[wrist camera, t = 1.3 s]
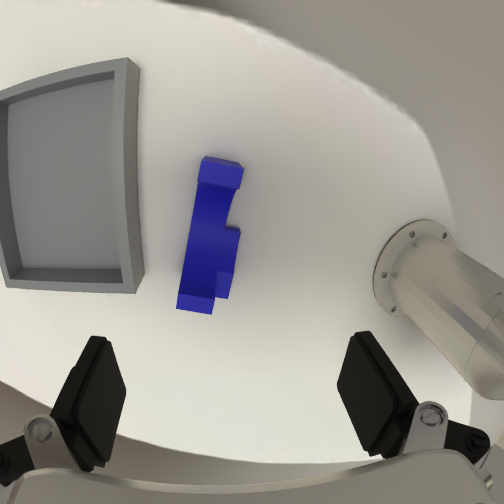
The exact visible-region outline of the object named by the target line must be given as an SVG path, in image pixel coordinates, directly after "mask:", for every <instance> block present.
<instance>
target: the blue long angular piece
mask: <svg viewBox="0 0 504 504" xmlns="http://www.w3.org/2000/svg"><path fill="white" fill-rule="evenodd" d="M243 171H244V168H243V167H242V166H241V165H240V164H239V163H237V162H232V161H228V160H223V159H218V158H213V157H208V156H205V157H204V158H203V159H202V161H201V166H200V170H199V175H198V180H197V181H198V186H197V193H196V199H195V204H194V210H193V216H192V221H191V227H190V232H189V238H188V243H187V249H186V254H185V260H184V265H183V271H182V276H181V281H180V287H179V292H178V298H177V306H176V309H181V310H187V311H193V312H199V313H205V314H211V315H212V311H213V306H214V301H215V297H218V298H224V299H228V296H229V292H230V287H231V283H232V279H233V274H234V267H235V260H236V253H237V248H238V243H239V238H240V234H241V233H240V229H238V228H233V227H228V226H225V224H226V220H227V216H228V212H229V209H230V205H231V202H232V199H233V196H234V194H235V192H236V190H237V189H239V188H240V184H241V179H242V175H243Z"/></svg>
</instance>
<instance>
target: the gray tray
mask: <svg viewBox="0 0 504 504" xmlns="http://www.w3.org/2000/svg"><path fill="white" fill-rule="evenodd" d="M139 76H140V68H139V67H138V66H137V65H136V64H135V63H134V62H132V61H131V60H130V59H129V58H128V57H127V58H120V59H114V60H108V61H102V62H97V63H92V64H87V65H83V66H78V67H74V68H70V69H66V70H62V71H58V72H55V73H51V74H48V75H44V76H41V77H38V78H35V79H32V80H29V81H26V82H23V83H20V84H17V85H15V86H12V87H9V88H7V89H4V90H2V91H0V266H1V270H2V274H3V278H4V281H5V285H6V287H7V288H20V289H35V290H51V291H70V292H93V293H124V294H136V291H137V289H138V287H139V285H140V283H141V281H142V278H143V276H144V265H143V256H142V246H141V235H140V222H139V206H138V185H137V111H138V90H139Z"/></svg>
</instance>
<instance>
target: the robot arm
mask: <svg viewBox="0 0 504 504" xmlns="http://www.w3.org/2000/svg"><path fill="white" fill-rule="evenodd" d="M374 293H375V296H376V299H377V301H378V302H379V304H380V306H381V307H382V308H383V309H384V310H385V311H386V312H387V313H389V314H390V315H393V316H396V317H409V318H410V319H411V320H412V321H413V322H414V323H415V324H416V325H417V326H418V327H419V329H420V330H421V331H422V332H423V333H424V334H425V335H426V336H427V337H428V338H429V340H430V341H431V342H432V343H433V344H434V345H435V346H436V347H437V348H438V350H439V351H440V352H441V353H442V354H443V355H444V356H445V358H446V359H447V360H448V361H449V362H450V363H451V364H452V366H453V367H454V368H455V369H456V370H457V371H458V373H459V374H460V375H461V376H462V377H463V379H464V380H465V381H466V382H467V383H468V384H469V385H470V387H471V388H472V389H473V390H474V391H475V392H476V393H477V394H479V395H480V396H482V397H484V398H486V399H490V400H504V279H503V278H502V277H500V276H499V275H497V274H496V273H494V272H492V271H491V270H490V269H488V268H487V267H485V266H484V265H482V264H480V263H479V262H477V261H476V260H474V259H472V258H471V257H469V256H467V255H466V254H464V253H463V252H461V251H459V250H458V249H456V248H454V242H453V239H452V237H451V235H450V233H449V232H448V231H447V230H446V229H445V228H444V227H443V226H441V225H440V224H438V223H436V222H433V221H429V220H422V221H416V222H414V223H411V224H409V225H407V226H406V227H404V228H403V229H401V230H400V231H399V232H398V233H397V234H396V235H395V236H394V237H393V238H392V239H391V240H390V242H389V243H388V244H387V245H386V247H385V249H384V250H383V252H382V254H381V256H380V258H379V261H378V263H377V266H376V270H375V274H374ZM337 389H338V392H339V394H340V396H341V399H342V401H343V403H344V405H345V408H346V410H347V412H348V415H349V417H350V419H351V422H352V424H353V426H354V429H355V431H356V433H357V436H358V438H359V440H360V443H361V445H362V448H363V450H364V451H368V453H369V456H370V457H371V456H375V455H378V454H381V455H382V457H383V460H382V461H378V462H375V463H372V464H368V465H364V466H360V467H356V468H352V469H348V470H344V471H340V472H335V473H331V474H326V475H320V476H315V477H309V478H303V479H297V480H290V481H282V482H273V483H263V484H250V485H228V486H227V485H226V486H201V485H200V486H199V485H177V484H164V483H153V482H146V481H138V480H131V479H124V478H117V477H112V476H106V475H101V474H96V473H93V472H92V471H93V469H94V466H98V467H103V468H104V467H105V463H106V462H108V461H109V460H110V457H111V452H112V448H113V443H114V439H115V435H116V431H117V427H118V423H119V419H120V416H121V412H122V408H123V404H124V400H125V397H126V387H125V384H124V382H123V379H122V376H121V373H120V370H119V367H118V364H117V361H116V357H115V354H114V351H113V347H112V344H111V342H110V341H107V339H106V337H101V336H91V337H90V338H89V340H88V342H87V344H86V346H85V348H84V350H83V352H82V354H81V356H80V357H79V359H78V361H77V363H76V365H75V366H74V367H73V368H72V369H71V371H70V373H69V375H68V377H67V379H66V381H65V383H64V385H63V387H62V390H61V392H60V394H59V396H58V398H57V400H56V402H55V405H54V407H53V409H52V411H51V414H50V416H48V415H44V414H39V415H35V416H33V417H31V418H30V419H29V420H28V421H27V422H26V424H25V425H24V430H23V432H24V435H22V436H20V437H18V438H15V439H13V440H11V441H8V442H6V443H4V444H1V445H0V504H504V431H503V432H502V433H501V434H500V435H499V436H498V437H497V438H496V439H495V440H494V441H493V442H492V443H491V444H490V439H489V437H488V435H487V434H486V433H485V432H484V431H482V430H480V429H477V428H474V427H470V426H467V425H464V424H460V423H457V422H454V421H451V420H448V414H447V411H446V410H445V408H444V407H443V406H442V405H440V404H438V403H436V402H432V401H426V402H423V403H420V404H419V402H418V401H417V399H416V398H415V396H414V395H413V393H412V392H411V390H410V389H409V387H408V386H407V384H406V383H405V381H404V380H403V378H402V377H401V375H400V374H399V372H398V371H397V369H396V368H395V366H394V365H393V363H392V362H391V360H390V359H389V357H388V356H387V355H386V353H385V352H384V350H383V349H382V347H381V346H380V344H379V343H378V342H377V340H376V339H375V337H374V336H373V334H372V333H371V332H370V331H362V332H356V333H355V334H354V336H351V338H350V341H349V344H348V348H347V352H346V355H345V358H344V362H343V365H342V368H341V372H340V375H339V378H338V381H337Z"/></svg>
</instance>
